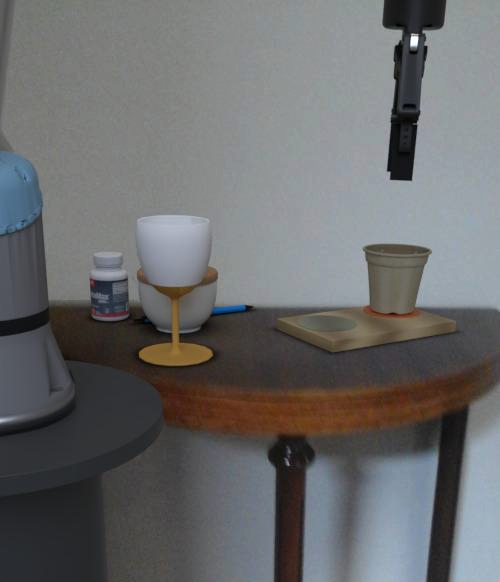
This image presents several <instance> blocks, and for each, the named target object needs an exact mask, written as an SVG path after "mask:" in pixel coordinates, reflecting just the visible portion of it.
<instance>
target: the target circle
mask: <svg viewBox="0 0 500 582" xmlns="http://www.w3.org/2000/svg"><path fill="white" fill-rule="evenodd" d="M365 306H366V307H364V306H363V307H364V308H363V311H364V312H366V313H368V314H370V315H374V316H379V317H387V318H408V317H414V316H417V315H419V314H420V311H419V310H420V309H419V308H416V307H415V309H414V311H413V312H412V313H408V314H404V315H398V314H396V313H389V314H381V313H378V312H374V311H372V310H371V308H370V304H368V305H365ZM418 309H419V310H418Z"/></svg>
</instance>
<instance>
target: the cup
mask: <svg viewBox="0 0 500 582" xmlns="http://www.w3.org/2000/svg"><path fill="white" fill-rule="evenodd" d="M211 226H212V225H211V221H210V219H209V218H205V217H204V216H203V217H201V216H195V215H184V214H183V215H182V214H161V215H150V216H143V217H141V218H140V217H139V218H138V219H137V220H136V227H135V228H136V229H135V244H136V246H135V247H136V254H137V258H138V261H139V265H140V268H141V269H142V271H143V273H144V275H145V277H146V279H147V281H148V283H150V284H151V285H152V286H153V287H154V288H155V289H156V290H157V291H158V292H160V293H162V294H164V295H166V296H168V297H169V298H170V299H171V300H172V333H171V342H165V343H158V344H153V345H149V346H146V347H144V348H142V349H141V350H139V352H138V358H139V359H141V361H143V362H145V363H148V364H152V365H156V366H164V367H187V366H194V365H199V364H202V363H205V362H208V361H209V360H210V359H211V358H212V357H214V353H213V351H212V350H211V348H208V347H207V346H203V345H200V344H196V343H189V342H188V343H187V342H180V333H179V308H178V300H179V299H180V297H182V296H183V295H185V294H188V293H190V292H191V291H192V290H193V289H194V288H195V287H196V286H197V285H198V284H199V283H200V282H201V281H202V279H203V277H204V275H205V273H206V271H207V268H208V266H209V264H210V260H211V255H212V248H213V247H212V246H213V234H212V227H211Z"/></svg>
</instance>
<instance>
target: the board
mask: <svg viewBox="0 0 500 582" xmlns="http://www.w3.org/2000/svg"><path fill="white" fill-rule="evenodd" d="M366 306H367V305H365V306H358V307H350V308H343V309H337V310H329V311H322V312H314V313H307V314H301V315H294V316H293V315H292V316H286V317H285V316H284V317H278V318H277V319H276V330H278V331H279V332H282V333H285V334H287V335H289V336H292V337H293V338H296V339H299V340H301V341H304V342H306V343H308V344H310V345H313V346H316V347H318V348H320V349H322V350H325V351H327V352H330V353H332V354H333V353H339V352H344V351H351V350H357V349H363V348H368V347H374V346H375V347H376V346H379V345H385V344H386V345H387V344H392V343H398V342H404V341H409V340H415V339H421V338H426V337H433V336H439V335H444V334H451V333H455V332H456V329H457V321H456V320H454V319H451V318H447V317H445V316H441V315H438V314H435V313H431V312H428V311H426V310H422V309H419V308H417V309H418V310H419V311H420V314H419V315H417V316H414V317H408V318H387V317H379V316H374V315H370V314H368V313H366V312H364V311H363V308H364V307H366Z"/></svg>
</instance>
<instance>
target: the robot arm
mask: <svg viewBox="0 0 500 582" xmlns="http://www.w3.org/2000/svg"><path fill="white" fill-rule="evenodd" d="M447 1H448V0H383V10H382V20H381V21H382V22H381V24H382V27H384V29H386V30H390V31H391V30H393V31H402V32H401V39H399V41H398V43H397V44H395V45H394V47H393V48H394V49H393V59H392V60H393V62H394V66H393V79H394V81H395V82H394V92H393V100H392V108H391V109H390V110H391V111H390V113H391V114H390V121H389V123H390V130H389V140H388V141H389V142H388V152H387V154H388V155H387V166H386V172H387V173H389V181H401V182H403V181H404V182H412V181H413V177H414V176H413V175H414V167H415V156H416V147H417V146H416V145H417V136H418V127H419V125H418V122H419V120H420V116H421V112H422V111H421V110H420V109H421V97H422V84H423V83H422V81H423V78H424V74H425V68H426V61H427V57H428V52H429V51H428V49H429V46H428V45H425V43H426V41H427V36H426V35H427V34H426V33H425V32H423V31H426V32H427V31H429V32H430V31H438V30H441V29H442V28H444V26H445V20H446V12H447V11H446V9H447ZM17 3H18V0H0V436H7V435H14V434H19V433H24V432H29V431H33V430H36V429H40V428H43V427H46V426H49V425H51V424H54V423H56V422H58V421H60V420H62V419H63V418H65V417H66V416H68V415H69V414H70V413H71V412H72V411H73V410H74V408H75V405H76V401H75V387H74V383H75V384H76V381H75V379H74V376H73V374H72V372H71V371H70V370H69V369H68V368H67V366H66V363H65V361H64V360H65V359H64V356H63V354H62V352H61V349H60V346H59V345H58V342H57V340H56V338H55V334H54V332H53V330H52V326H51V315H50V302H49V301H50V299H49V288H48V287H49V286H48V275H47V274H48V273H47V261H46V249H45V248H46V247H45V235H44V233H45V232H44V223H43V221H44V220H43V207H44V198H43V193H42V190H41V188H40V182H39V181H40V180H39V175H38V172H37V169H36V167H35V166H34V165H33V163H32V162H31V161H30V160H29V159H27V158H26V157H25V156H22V155H20V154H18V153H16V150H15V149H14V147H13V146H12V144H11V143H10V142H9V140H8V139H7V137H6V136H5V134H4V131H3V125H4V124H3V123H4V114H5V106H6V99H7V98H6V97H7V90H8V88H7V87H8V82H9V74H10V73H9V72H10V64H11V57H12V47H13V40H14V31H15V30H14V29H15V22H16V14H17V13H16V11H17ZM76 385H77V384H76Z"/></svg>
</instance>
